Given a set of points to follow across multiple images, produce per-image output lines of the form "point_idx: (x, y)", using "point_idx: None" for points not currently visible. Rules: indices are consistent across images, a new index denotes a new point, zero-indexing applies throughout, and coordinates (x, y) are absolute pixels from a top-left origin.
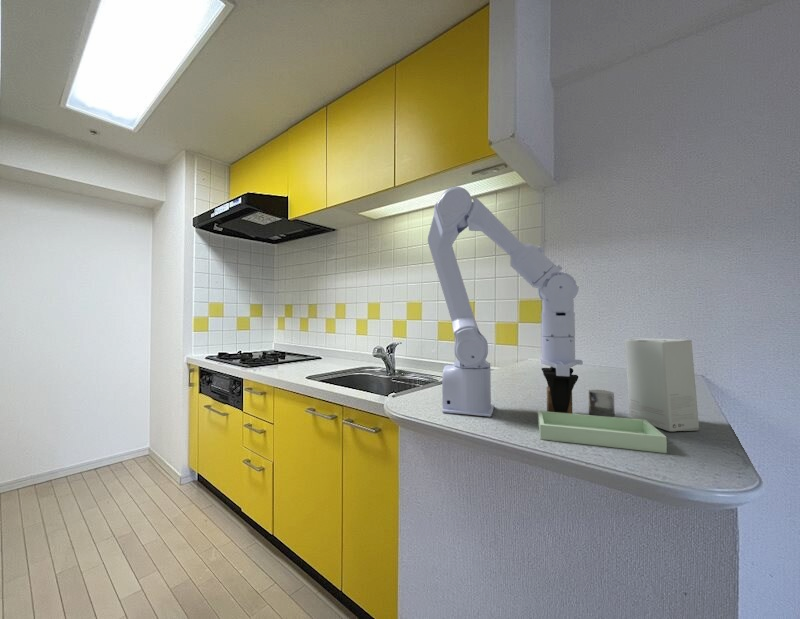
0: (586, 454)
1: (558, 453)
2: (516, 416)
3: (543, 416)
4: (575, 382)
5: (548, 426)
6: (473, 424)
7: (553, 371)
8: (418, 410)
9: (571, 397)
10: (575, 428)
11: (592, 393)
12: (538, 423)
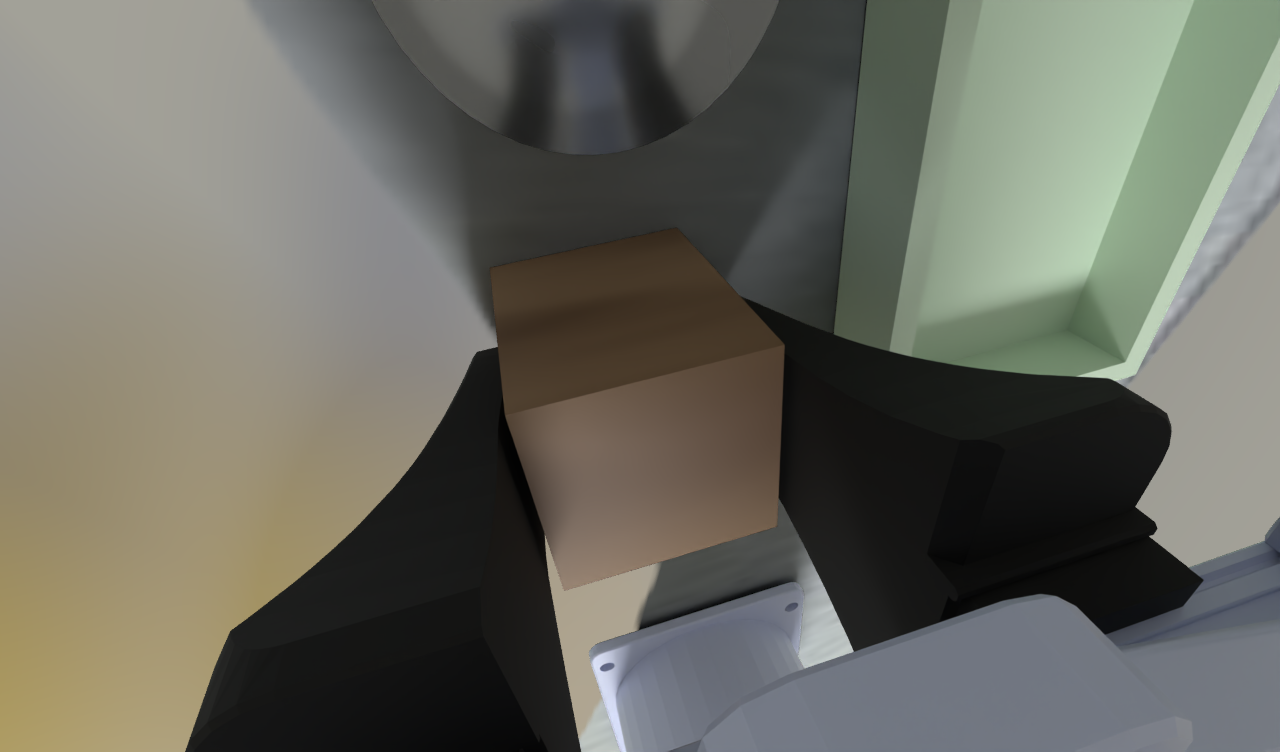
0: (1264, 115)
1: (1224, 239)
2: None
3: None
4: (1053, 378)
5: (1147, 337)
6: None
7: (563, 749)
8: None
9: (757, 321)
10: (1221, 200)
11: (717, 90)
12: None
